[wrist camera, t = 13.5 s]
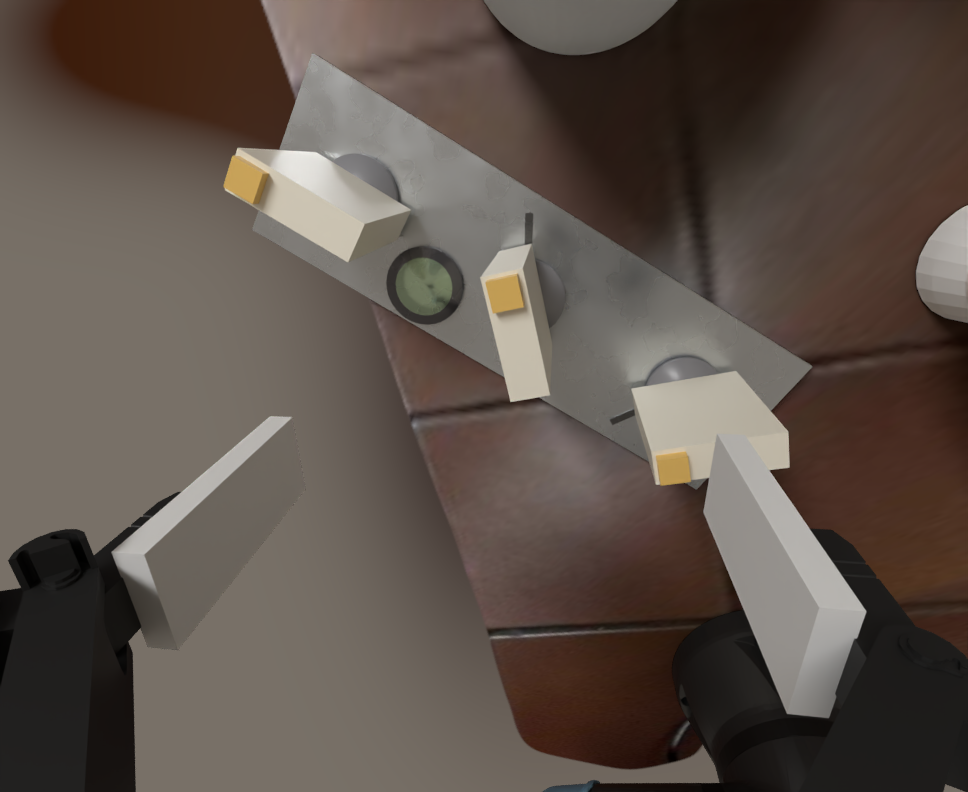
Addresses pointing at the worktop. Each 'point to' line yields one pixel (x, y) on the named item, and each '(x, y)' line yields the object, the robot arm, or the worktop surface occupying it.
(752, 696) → the robot arm
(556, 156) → the worktop surface
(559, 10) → the utensil holder
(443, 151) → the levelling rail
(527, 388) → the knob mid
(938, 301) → the cup
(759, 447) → the slab with yellow pad
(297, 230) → the cream slab
